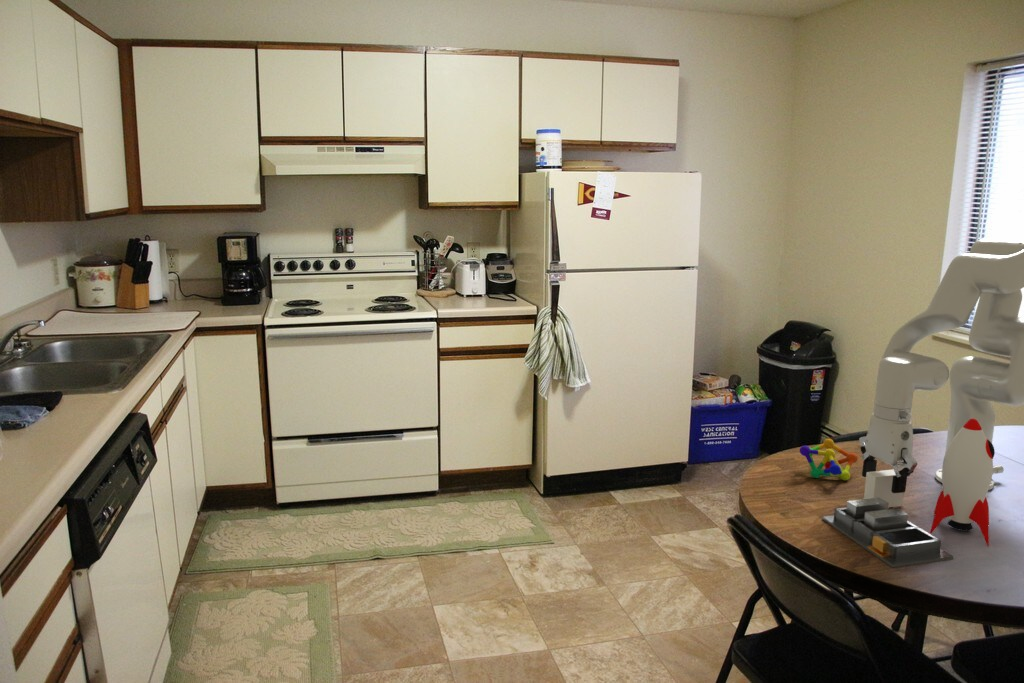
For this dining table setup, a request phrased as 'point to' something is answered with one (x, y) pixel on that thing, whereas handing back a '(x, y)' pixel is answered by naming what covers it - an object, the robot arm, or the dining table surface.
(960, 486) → the rocket
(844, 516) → the rack
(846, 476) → the decorative model
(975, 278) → the robot arm
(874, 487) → the block
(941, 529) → the dining table surface
